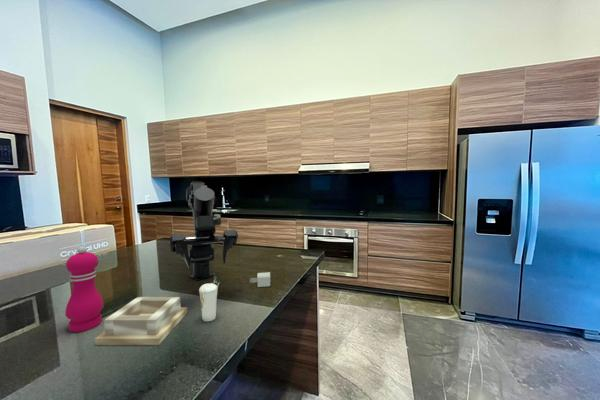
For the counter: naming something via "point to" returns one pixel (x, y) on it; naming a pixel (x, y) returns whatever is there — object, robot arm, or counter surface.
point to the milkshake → (208, 301)
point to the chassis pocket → (142, 322)
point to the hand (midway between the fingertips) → (207, 265)
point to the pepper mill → (83, 292)
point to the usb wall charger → (262, 279)
